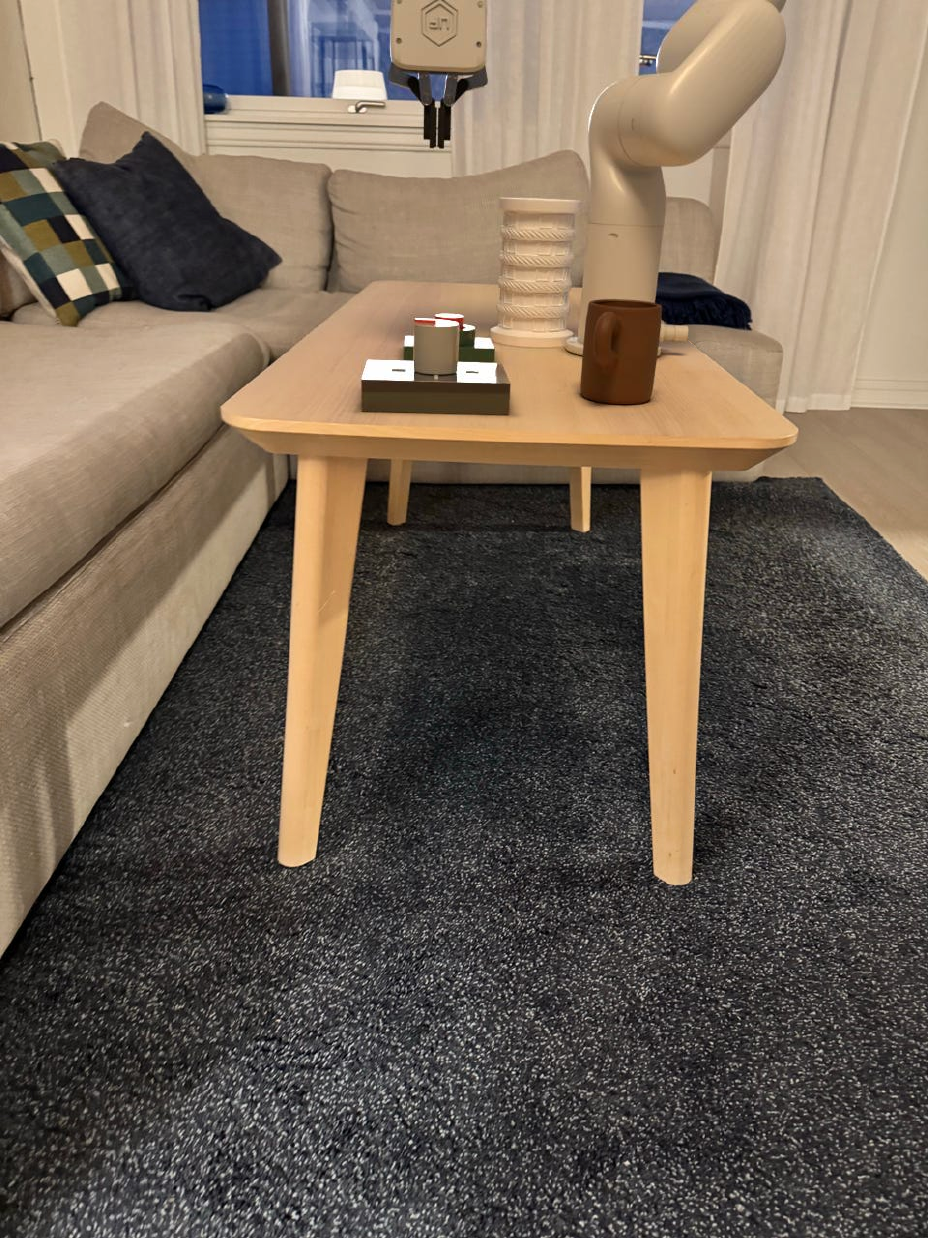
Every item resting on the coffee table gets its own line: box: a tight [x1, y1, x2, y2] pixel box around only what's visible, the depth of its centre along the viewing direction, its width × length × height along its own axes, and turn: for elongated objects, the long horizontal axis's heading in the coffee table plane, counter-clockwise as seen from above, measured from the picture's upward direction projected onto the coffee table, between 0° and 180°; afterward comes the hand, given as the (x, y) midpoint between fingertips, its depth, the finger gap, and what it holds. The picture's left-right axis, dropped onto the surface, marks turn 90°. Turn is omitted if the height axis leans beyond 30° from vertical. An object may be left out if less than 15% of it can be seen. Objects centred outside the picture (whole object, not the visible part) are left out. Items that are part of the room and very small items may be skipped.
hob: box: [360, 359, 512, 416], centre depth 90 cm, size 14×10×3 cm
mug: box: [579, 299, 663, 405], centre depth 91 cm, size 12×8×9 cm, turn 156°
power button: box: [434, 313, 465, 329], centre depth 112 cm, size 4×4×2 cm
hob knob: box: [412, 318, 459, 375], centre depth 88 cm, size 4×4×5 cm
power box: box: [403, 324, 496, 363], centre depth 113 cm, size 11×8×4 cm
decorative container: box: [489, 197, 583, 348], centre depth 123 cm, size 12×12×18 cm
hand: (436, 147), depth 100 cm, fingers closed
